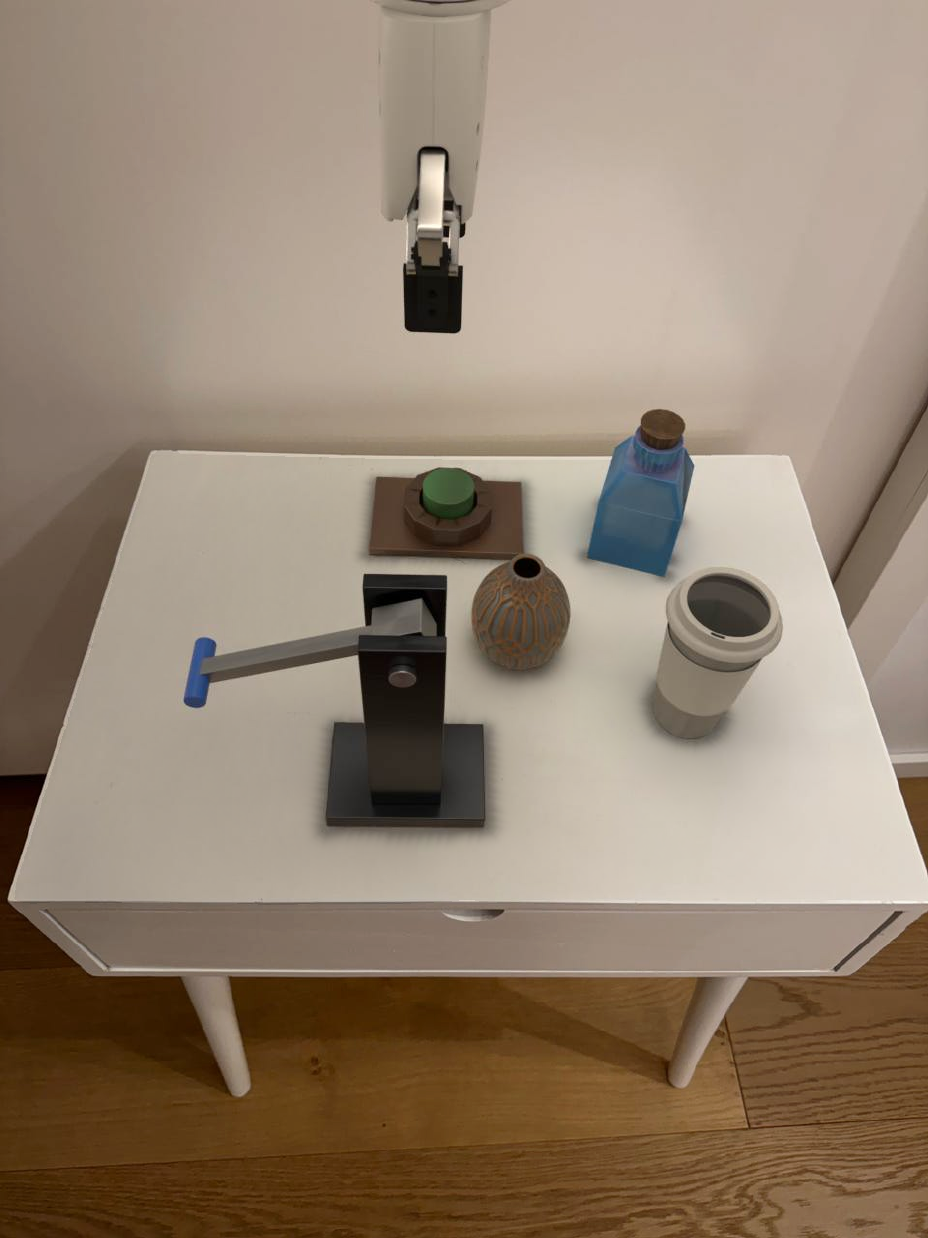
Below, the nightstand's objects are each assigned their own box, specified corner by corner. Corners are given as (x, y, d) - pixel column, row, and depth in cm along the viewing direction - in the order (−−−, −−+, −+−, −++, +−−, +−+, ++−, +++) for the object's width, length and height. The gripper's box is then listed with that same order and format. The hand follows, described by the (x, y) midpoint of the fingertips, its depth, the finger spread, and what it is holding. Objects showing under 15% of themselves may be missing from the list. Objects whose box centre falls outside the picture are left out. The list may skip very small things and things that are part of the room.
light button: (421, 519, 74) (421, 503, 73) (423, 482, 76) (423, 466, 75) (473, 520, 74) (474, 505, 73) (473, 484, 76) (474, 468, 75)
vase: (484, 693, 67) (491, 617, 60) (458, 617, 71) (462, 537, 64) (577, 673, 68) (594, 596, 61) (546, 600, 72) (559, 520, 65)
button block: (369, 554, 74) (367, 532, 72) (376, 482, 79) (375, 459, 77) (522, 560, 75) (525, 538, 73) (520, 487, 79) (523, 465, 77)
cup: (622, 728, 66) (656, 622, 56) (650, 656, 69) (687, 546, 60) (723, 767, 64) (775, 665, 54) (746, 692, 68) (799, 584, 58)
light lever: (195, 715, 53) (172, 693, 51) (207, 656, 55) (185, 632, 53) (436, 671, 49) (421, 645, 47) (437, 610, 52) (422, 583, 50)
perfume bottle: (586, 557, 75) (610, 442, 65) (602, 503, 79) (627, 387, 69) (664, 576, 74) (700, 462, 64) (677, 521, 78) (713, 405, 68)
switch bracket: (326, 826, 60) (298, 666, 46) (335, 730, 65) (311, 557, 50) (484, 828, 61) (503, 669, 47) (482, 732, 65) (499, 561, 51)
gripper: (372, -118, 49) (385, 201, 62) (336, 23, 38) (361, 369, 52) (518, -112, 49) (499, 205, 63) (522, 31, 38) (498, 374, 52)
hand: (436, 279), depth 57 cm, fingers open, 9 cm apart
